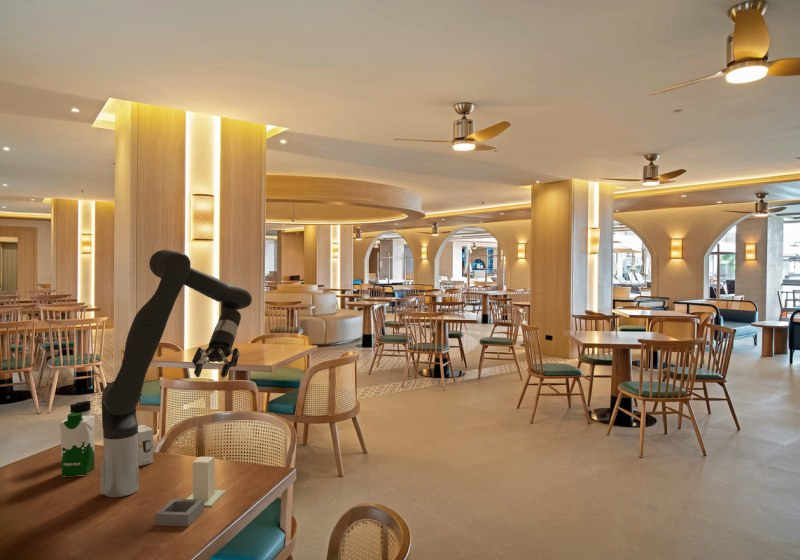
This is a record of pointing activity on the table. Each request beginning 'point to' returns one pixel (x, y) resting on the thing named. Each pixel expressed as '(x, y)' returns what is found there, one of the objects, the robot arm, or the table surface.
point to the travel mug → (81, 408)
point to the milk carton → (77, 444)
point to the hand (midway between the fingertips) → (209, 376)
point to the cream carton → (203, 478)
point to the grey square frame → (179, 512)
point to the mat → (213, 499)
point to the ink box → (145, 445)
